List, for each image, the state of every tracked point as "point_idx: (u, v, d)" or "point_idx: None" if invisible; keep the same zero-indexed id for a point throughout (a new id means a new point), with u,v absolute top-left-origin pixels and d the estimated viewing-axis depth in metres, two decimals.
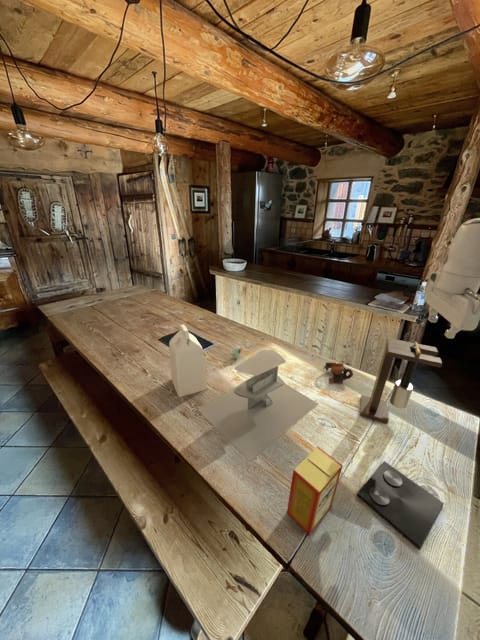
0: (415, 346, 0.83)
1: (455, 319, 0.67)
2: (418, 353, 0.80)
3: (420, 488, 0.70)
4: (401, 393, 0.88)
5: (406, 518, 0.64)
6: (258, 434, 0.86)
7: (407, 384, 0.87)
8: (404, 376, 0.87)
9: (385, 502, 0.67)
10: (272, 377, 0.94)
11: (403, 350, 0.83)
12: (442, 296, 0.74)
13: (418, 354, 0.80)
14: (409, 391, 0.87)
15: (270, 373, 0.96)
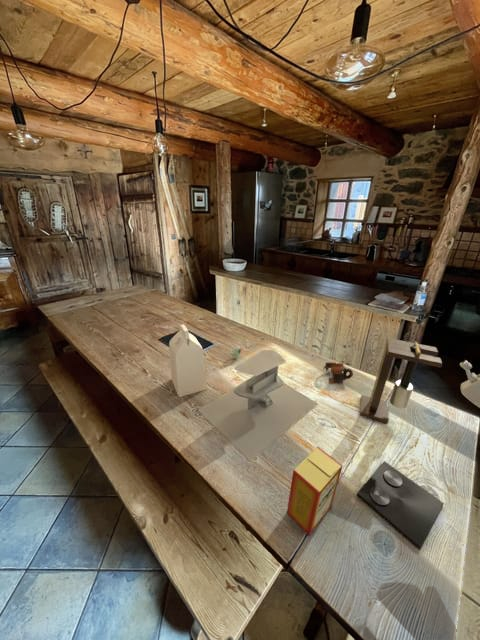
0: (415, 346, 0.83)
1: None
2: (418, 353, 0.80)
3: (420, 488, 0.70)
4: (401, 393, 0.88)
5: (406, 518, 0.64)
6: (258, 434, 0.86)
7: (407, 384, 0.87)
8: (404, 376, 0.87)
9: (385, 502, 0.67)
10: (272, 377, 0.94)
11: (403, 350, 0.83)
12: None
13: (418, 354, 0.80)
14: (409, 391, 0.87)
15: (270, 373, 0.96)
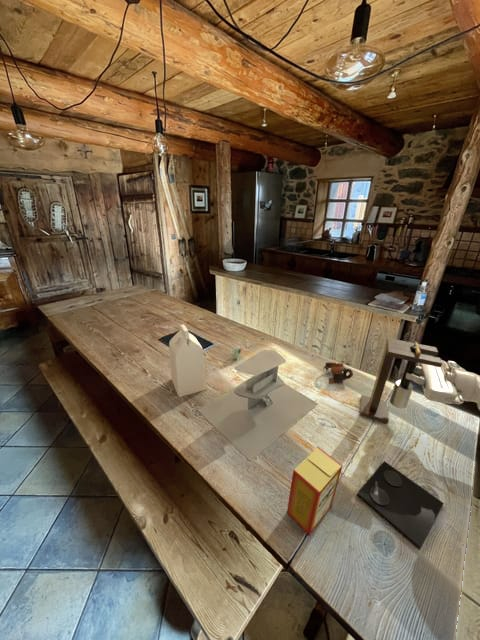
0: (415, 346, 0.83)
1: (434, 385, 0.78)
2: (418, 353, 0.80)
3: (420, 488, 0.70)
4: (401, 393, 0.88)
5: (406, 518, 0.64)
6: (258, 434, 0.86)
7: (407, 384, 0.87)
8: (404, 376, 0.87)
9: (385, 502, 0.67)
10: (272, 377, 0.94)
11: (403, 350, 0.83)
12: (440, 373, 0.84)
13: (418, 354, 0.80)
14: (409, 391, 0.87)
15: (270, 373, 0.96)
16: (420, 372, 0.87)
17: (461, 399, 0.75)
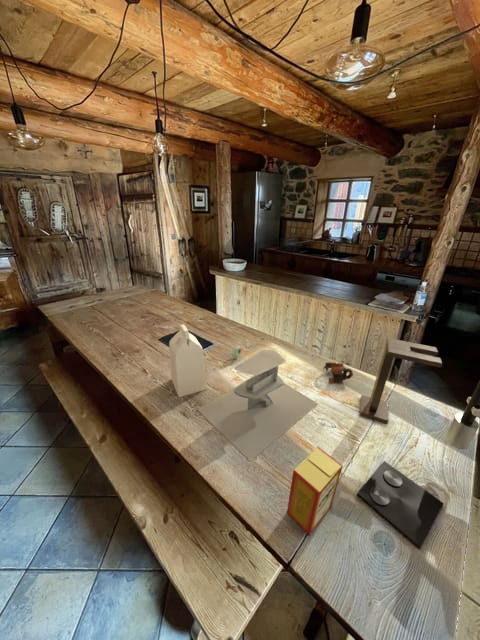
0: None
1: None
2: None
3: (420, 488, 0.70)
4: (463, 432, 0.71)
5: (406, 518, 0.64)
6: (258, 434, 0.86)
7: (472, 421, 0.70)
8: (468, 411, 0.70)
9: (385, 502, 0.67)
10: (272, 377, 0.94)
11: (403, 350, 0.83)
12: None
13: None
14: (475, 430, 0.70)
15: (270, 373, 0.96)
16: None
17: None
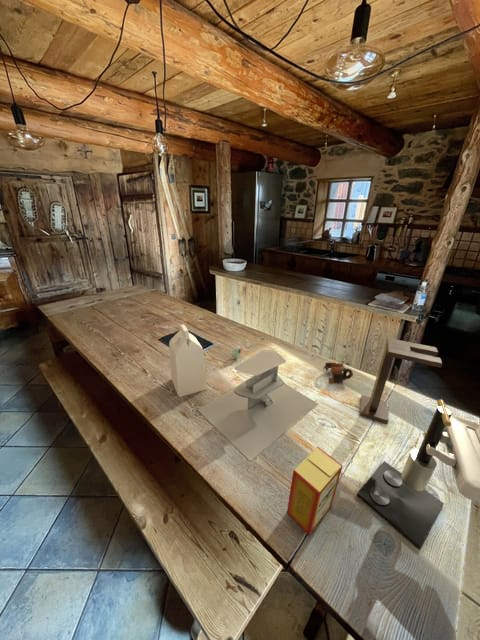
0: (441, 408, 0.56)
1: (473, 475, 0.51)
2: (447, 423, 0.53)
3: None
4: (419, 472, 0.61)
5: (406, 518, 0.64)
6: (258, 434, 0.86)
7: (428, 459, 0.60)
8: (423, 448, 0.60)
9: (385, 502, 0.67)
10: (272, 377, 0.94)
11: (403, 350, 0.83)
12: (477, 446, 0.57)
13: (447, 424, 0.53)
14: (431, 470, 0.60)
15: (270, 373, 0.96)
16: (446, 441, 0.60)
17: None
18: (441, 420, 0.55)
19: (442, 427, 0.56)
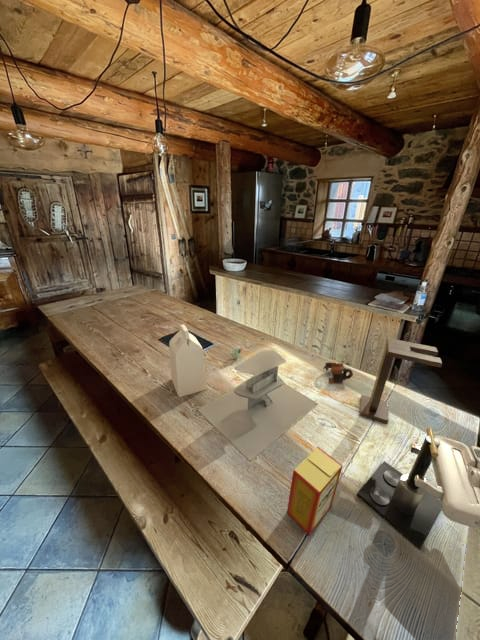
0: (429, 438, 0.57)
1: (456, 497, 0.53)
2: (434, 454, 0.54)
3: None
4: (408, 498, 0.62)
5: (406, 518, 0.64)
6: (258, 434, 0.86)
7: None
8: (413, 475, 0.61)
9: (385, 502, 0.67)
10: (272, 377, 0.94)
11: (403, 350, 0.83)
12: (462, 468, 0.59)
13: (434, 455, 0.54)
14: (420, 496, 0.61)
15: (270, 373, 0.96)
16: None
17: None
18: (429, 450, 0.57)
19: (430, 457, 0.57)
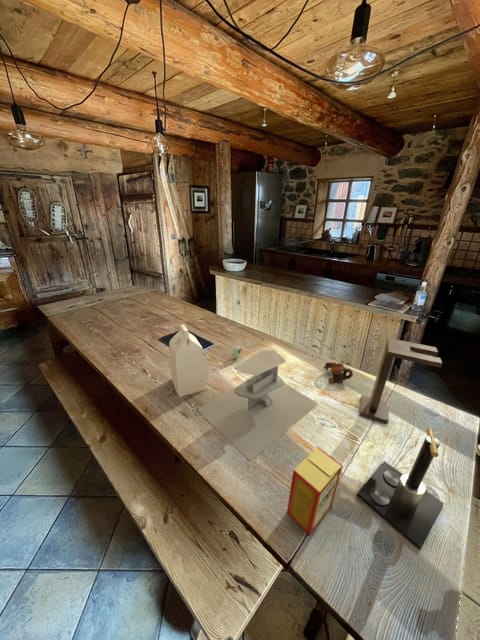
0: (429, 438, 0.57)
1: None
2: (434, 454, 0.54)
3: None
4: (408, 498, 0.62)
5: (406, 518, 0.64)
6: (258, 434, 0.86)
7: (417, 485, 0.62)
8: (413, 475, 0.61)
9: (385, 502, 0.67)
10: (272, 377, 0.94)
11: (403, 350, 0.83)
12: None
13: (434, 455, 0.54)
14: (420, 496, 0.61)
15: (270, 373, 0.96)
16: None
17: None
18: (429, 450, 0.57)
19: (430, 457, 0.57)
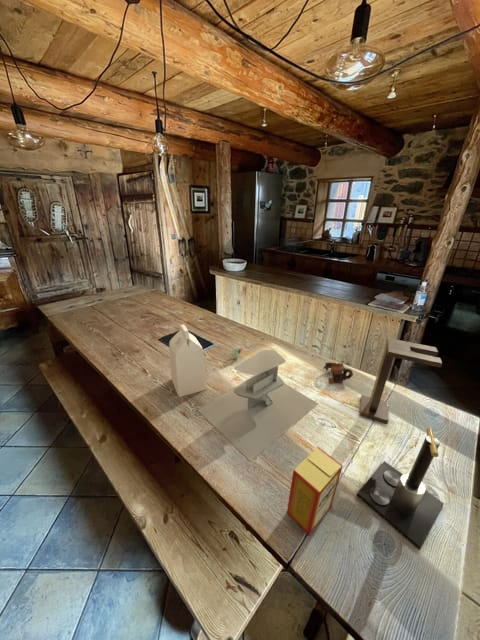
0: (429, 438, 0.57)
1: None
2: (434, 454, 0.54)
3: None
4: (408, 498, 0.62)
5: (406, 518, 0.64)
6: (258, 434, 0.86)
7: (417, 485, 0.62)
8: (413, 475, 0.61)
9: (385, 502, 0.67)
10: (272, 377, 0.94)
11: (403, 350, 0.83)
12: None
13: (434, 455, 0.54)
14: (420, 496, 0.61)
15: (270, 373, 0.96)
16: None
17: None
18: (429, 450, 0.57)
19: (430, 457, 0.57)
